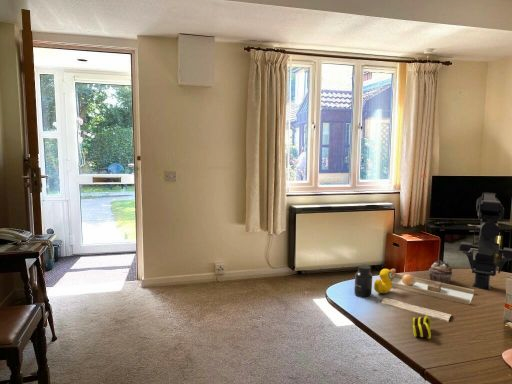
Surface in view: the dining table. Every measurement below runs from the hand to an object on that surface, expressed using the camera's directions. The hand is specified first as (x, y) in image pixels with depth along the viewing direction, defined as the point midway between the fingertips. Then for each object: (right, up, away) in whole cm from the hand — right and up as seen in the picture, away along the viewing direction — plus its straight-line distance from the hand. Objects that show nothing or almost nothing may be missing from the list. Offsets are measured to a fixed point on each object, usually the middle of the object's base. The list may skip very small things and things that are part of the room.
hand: (485, 270), depth 146 cm
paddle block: (-18, -9, +10) cm, 22 cm away
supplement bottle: (-48, -11, +5) cm, 49 cm away
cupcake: (-8, -10, +21) cm, 24 cm away
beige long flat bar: (-32, -14, -8) cm, 35 cm away
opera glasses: (-38, -15, -26) cm, 48 cm away
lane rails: (-17, -11, +11) cm, 23 cm away
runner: (-17, -11, +11) cm, 23 cm away
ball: (-24, -10, +14) cm, 30 cm away
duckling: (-38, -11, +8) cm, 40 cm away
